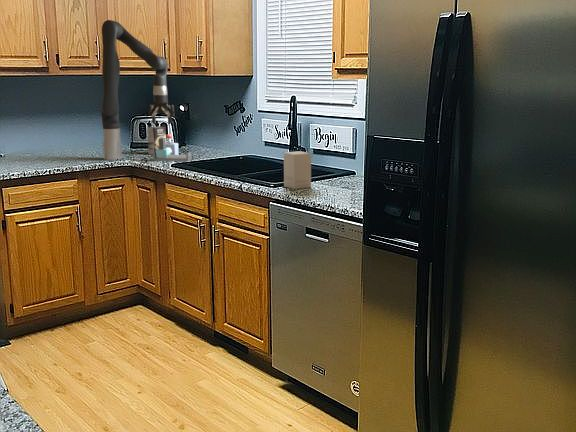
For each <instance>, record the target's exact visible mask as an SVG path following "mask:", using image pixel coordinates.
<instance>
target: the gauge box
mask: <svg viewBox="0 0 576 432" xmlns="http://www.w3.org/2000/svg"><path fill="white" fill-rule="evenodd" d="M166 149H169V155H180V153H179V143H178V142H171V144H168V142H166Z"/></svg>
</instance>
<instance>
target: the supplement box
mask: <svg viewBox="0 0 576 432" xmlns="http://www.w3.org/2000/svg"><path fill="white" fill-rule="evenodd" d="M283 186H284V187H286V188H290V189H293V190H299V189H306V188H307V189H308V188H312V153H311V152H307V151H302V150H298V151H287V152H283Z"/></svg>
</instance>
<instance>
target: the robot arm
mask: <svg viewBox="0 0 576 432" xmlns="http://www.w3.org/2000/svg"><path fill="white" fill-rule="evenodd" d="M101 37H102V38H101V39H102V66H101V67H102V68H101V69H102V74H101V76H102V84H103V99H102V103H101V105H100V108H101V109H100V110H101V112H100V113H101V123H102V134H103V142H102V153H103V154H102V155H103V160H107V161H108V160H109V161H112V160H113V161H114V160H115V161H116V160H117V159H118V160H121V159H122V158H123V155H122V140H121V125H120V119H119V118H120V115H119V114H120V113H119V111H120V105H119V92H118V91H119V84H120V76H121V75H120V74H121V72H120V71H121V69H120V68H121V65H120V64H121V63H120V59H119V55H118V52H117V41H120V42H121V43H123V44H124V45H125V46H127V47H128V48H129V49H130V50H131V52H133V54H135V55H136V56H137V57H139V58H140V59H141V60H143V61H144V62H145V63H146V64H147V65H148V66H149V67H150V68H152V69H153V70H155V74H154V75H153V78H152V79H153V80H152V81H153V91H152V93H153V104H149V105H148V108H147V109H148V111H147V112H148V117H149V116H150V117H151V121H152V123H153V124H152V125H157V122H156V121H157V119H156V118H157V117H156V115H157V114H160V113H161V114H165V115H166V116H167V124H168V125H171V123H172V117H174V116H176V115H175V114H176V113H175V106H174V104H169V98H168V86H167V85H168V84H167V76H168V69H169V68H168V67H169V66H168V61H167V59H166V57H164V56H158V55H157V54H155V53H154V51H153V50H152V49H151V48H149V46H147V45H146V44H144V43H143V42H142V41H140V40H139V39H137V38H136V37H134V36H133V35H132V34H131V33H130V32H129V31H128V30H127V29H126V28H125V26H123V25H122V24H121V23H120V22H118V21H115V20H110V19H108V20H105V21H104V22H103V23H102V25H101ZM153 109H154V111H153ZM168 109H169V110H170V111H169V110H168Z"/></svg>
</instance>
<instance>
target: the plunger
mask: <svg viewBox="0 0 576 432" xmlns="http://www.w3.org/2000/svg"><path fill="white" fill-rule="evenodd" d="M172 138H173V134H172V133H169V134H166V139H167V143H168V144H171V143H172Z"/></svg>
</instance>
